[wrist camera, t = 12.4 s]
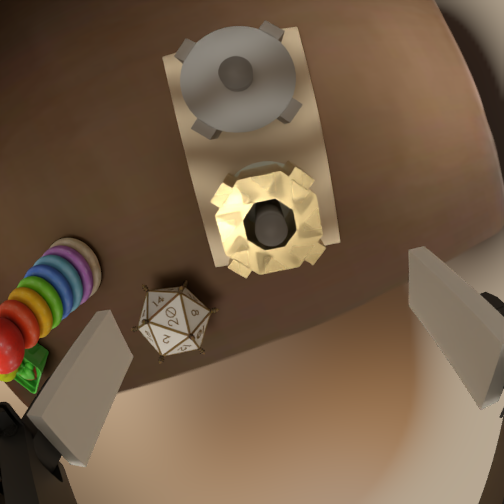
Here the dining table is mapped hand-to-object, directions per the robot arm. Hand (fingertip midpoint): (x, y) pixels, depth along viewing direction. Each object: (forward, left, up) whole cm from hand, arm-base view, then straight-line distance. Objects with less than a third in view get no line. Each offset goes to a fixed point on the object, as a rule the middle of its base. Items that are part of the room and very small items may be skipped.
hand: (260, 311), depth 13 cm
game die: (+10, -11, -21) cm, 26 cm away
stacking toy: (+3, -23, -21) cm, 31 cm away
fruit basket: (+13, -40, -21) cm, 47 cm away
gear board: (-5, +1, -21) cm, 21 cm away
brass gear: (0, +1, -19) cm, 19 cm away
